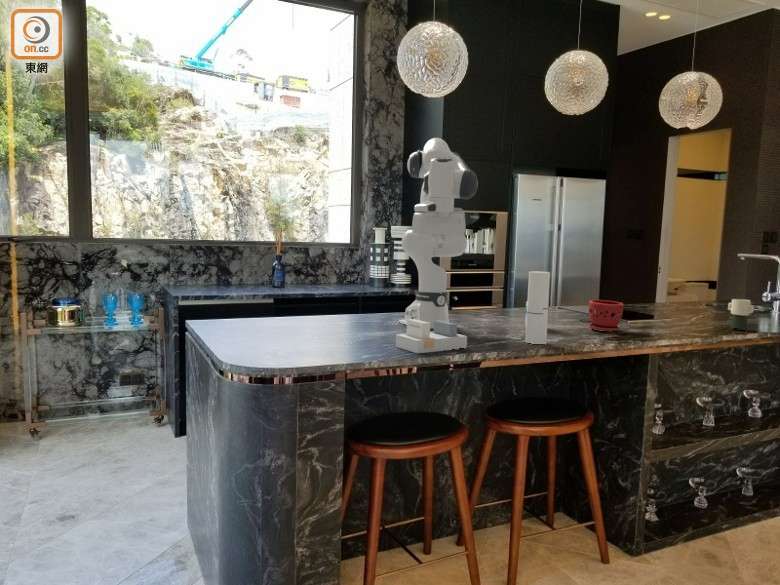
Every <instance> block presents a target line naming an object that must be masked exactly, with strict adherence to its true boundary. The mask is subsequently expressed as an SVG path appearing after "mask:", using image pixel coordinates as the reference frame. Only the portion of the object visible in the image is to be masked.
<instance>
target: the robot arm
mask: <svg viewBox="0 0 780 585" xmlns="http://www.w3.org/2000/svg"><path fill="white" fill-rule="evenodd" d="M406 166H407V171H408V173H409V175H410V177H411V178H414V179H419V178H420V179H423V183H422V186H421V191H420V198H419V200H420V201H419V203H417V204H415V205H414V208H413V209H414V213H413V216H412V224H411V229H409V230H406V231H405V233H404V234H403V235H402V238H401V247H402V250H403V251H404V253H405V254H406V255H407V256H408V257H410V258H411V260H413V262H414V264H415V266H416V269H417V272H418V273H417V274H418V291H415V292H414V293H415V294H414V295H415V300H414V301H413V302H412V303H411V304H410V305H408V306H407V307H406V308H405V312H404V319H399V320H398V323H399V322H400V323H399V324H402V325H404V324H405V326H407V320H409V319H416V320H420V321H425V322H429V323H430V330H431V329H433V330H434V321H439V320H442V321H446V322H450V320H449V307H448V306H449V305H448V304H447V301H448V291H447V283H448V282H447V281H448V280H447V279H448V277H447V276H448V274H447V271H446V270H445V269H444V268H443V267H442V266H440V265H438V264H435V263H434V262H433V259H432V258H435V257H436V258H437V257H438V258H452V257H453V258H454V257H459V256H462V255H463V254H464V252H466V250H467V245H468V241H467V237H466V235H465V233H466V229H467V228H466V227H467V226H466V217H465V216H466V213H465V212H466V211H464V209H462V208H461V207H455V206H454V205H455V199H461V200H469V199H471V198H472V197H474V196H475V195H476V194H477V190H478V182H479V181H478V177H477V174H476V172H474V171H473V170H472V169H470V168H469V166H468V165H467V163H466V162H465V161H464V159H463V158H462V157H461V155H460V154H459V153H458V152H455V151H451V149H450V147H449V144H448V143H447V142H446V141H445V140H444V139H442V138H439V137H433V138H430V139H429V140H428V141H427V142H426V143H425V144H424V146H423V149H422V150H420V149H418V150H417V151H414V152H412V153H411V154H410V155H409V158H407V165H406Z"/></svg>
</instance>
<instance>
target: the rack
mask: <svg viewBox="0 0 780 585" xmlns="http://www.w3.org/2000/svg"><path fill="white" fill-rule="evenodd" d="M467 343H468V336H467V335H463V334H460V333H458V323H454V322H450V321H449V322H446V321H442V320H439V321H434V329H433V331H430V338H423V339H417V338H414V337H410V336H407V333H400V334H396V335H395V348H398V349H402V350H404V351H408V352H412V353H415V354H425V353H435V352H442V351H443V352H445V351H452V349H455V350H460V349H459V348H464V349H467V348H466V347H467V346H468V344H467ZM444 350H445V351H444Z"/></svg>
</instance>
